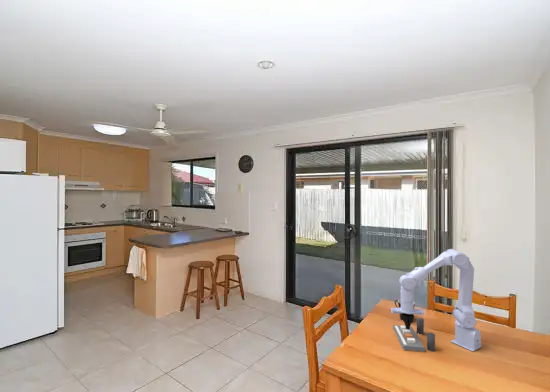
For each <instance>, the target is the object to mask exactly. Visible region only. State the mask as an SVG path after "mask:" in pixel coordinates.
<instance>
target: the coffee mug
mask: <svg viewBox="0 0 550 392" xmlns="http://www.w3.org/2000/svg"><path fill="white" fill-rule="evenodd" d="M415 304H416V302H414V307H415V306H416V305H415ZM394 305H395V308H401V298H400V299H396V300H394ZM399 319H400V320H401V321H402V320H403V317H402V315H401V313H399ZM402 322H404V320H403V321H402Z"/></svg>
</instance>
